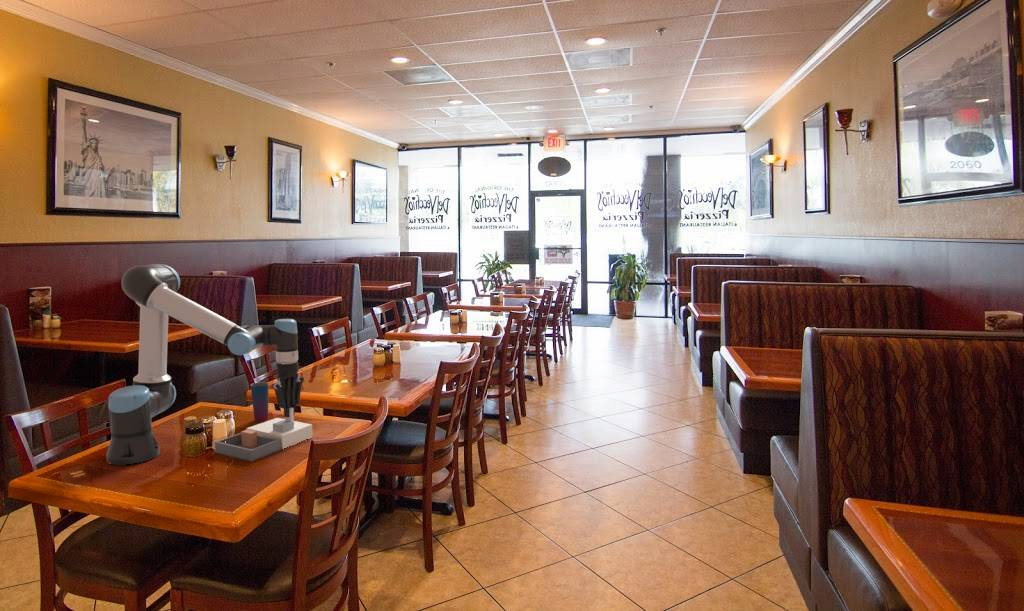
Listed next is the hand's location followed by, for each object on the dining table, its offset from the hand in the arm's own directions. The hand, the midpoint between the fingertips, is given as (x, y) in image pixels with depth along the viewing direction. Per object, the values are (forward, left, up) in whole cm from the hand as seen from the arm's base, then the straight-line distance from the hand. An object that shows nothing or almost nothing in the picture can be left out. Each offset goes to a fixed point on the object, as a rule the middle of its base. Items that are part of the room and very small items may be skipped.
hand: (289, 424), depth 215 cm
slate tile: (0, -3, -1) cm, 3 cm away
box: (-4, -15, -6) cm, 17 cm away
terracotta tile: (-8, -10, -3) cm, 13 cm away
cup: (-29, +12, -6) cm, 32 cm away
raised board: (-4, -1, -6) cm, 7 cm away
